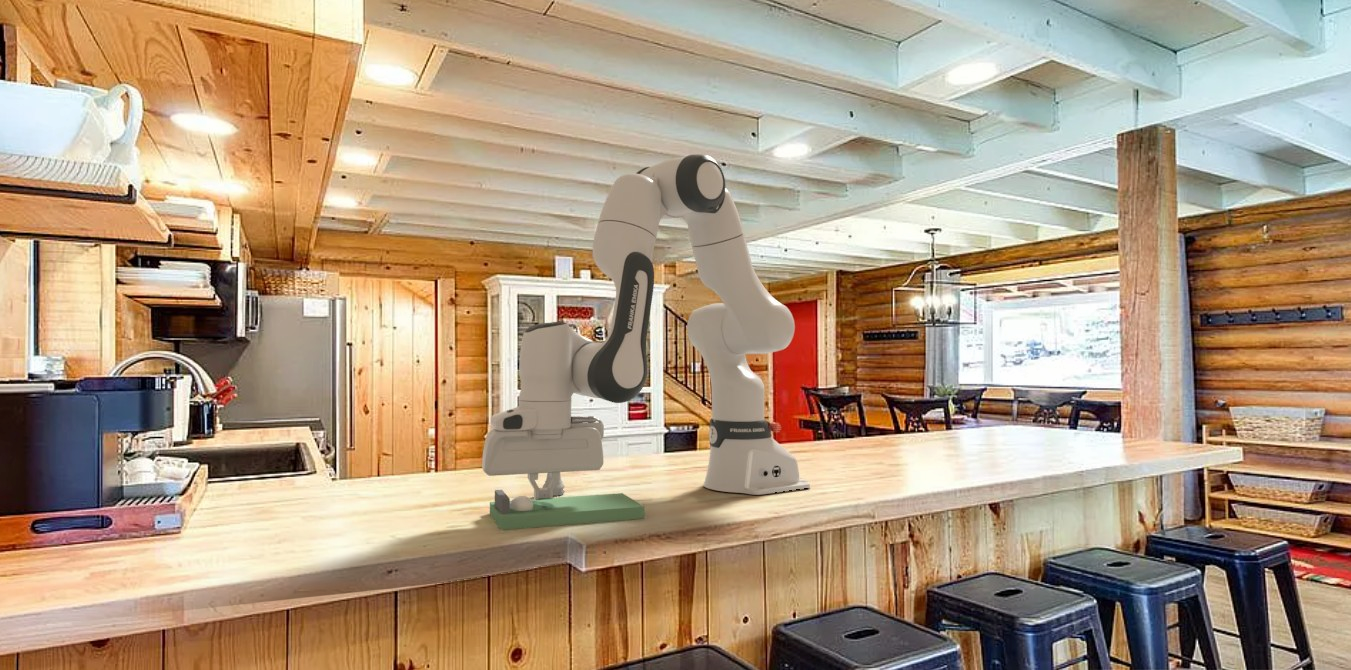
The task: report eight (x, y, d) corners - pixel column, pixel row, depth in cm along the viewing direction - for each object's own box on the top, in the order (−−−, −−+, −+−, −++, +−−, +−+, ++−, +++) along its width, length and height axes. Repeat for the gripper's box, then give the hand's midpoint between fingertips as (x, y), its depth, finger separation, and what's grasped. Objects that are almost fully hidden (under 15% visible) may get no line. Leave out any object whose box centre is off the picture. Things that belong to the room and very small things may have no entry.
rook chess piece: (560, 497, 138) (561, 455, 138) (538, 495, 138) (539, 454, 139) (568, 492, 142) (568, 452, 142) (546, 491, 143) (547, 451, 143)
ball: (535, 501, 122) (516, 488, 121) (540, 506, 118) (520, 493, 117) (521, 521, 121) (502, 508, 120) (525, 527, 117) (505, 514, 116)
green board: (622, 504, 132) (622, 480, 132) (644, 518, 121) (644, 492, 121) (489, 513, 123) (490, 488, 123) (500, 530, 112) (500, 501, 112)
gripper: (598, 414, 128) (597, 492, 127) (481, 416, 120) (479, 499, 120) (609, 417, 122) (607, 498, 121) (486, 420, 114) (484, 507, 114)
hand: (543, 499), depth 120 cm, fingers closed
